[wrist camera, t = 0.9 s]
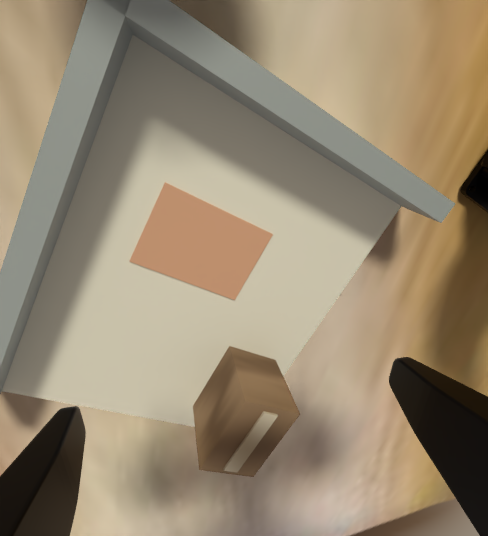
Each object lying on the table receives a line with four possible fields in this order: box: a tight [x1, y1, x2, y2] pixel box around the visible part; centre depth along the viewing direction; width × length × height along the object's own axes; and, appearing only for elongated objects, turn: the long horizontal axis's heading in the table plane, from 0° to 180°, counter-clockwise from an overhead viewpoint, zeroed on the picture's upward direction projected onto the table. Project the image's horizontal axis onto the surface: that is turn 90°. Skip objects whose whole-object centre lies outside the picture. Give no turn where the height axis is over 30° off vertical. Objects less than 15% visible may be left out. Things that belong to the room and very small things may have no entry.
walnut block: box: [193, 346, 300, 477], centre depth 23 cm, size 6×4×5 cm, turn 151°
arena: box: [0, 0, 455, 427], centre depth 20 cm, size 19×23×5 cm
